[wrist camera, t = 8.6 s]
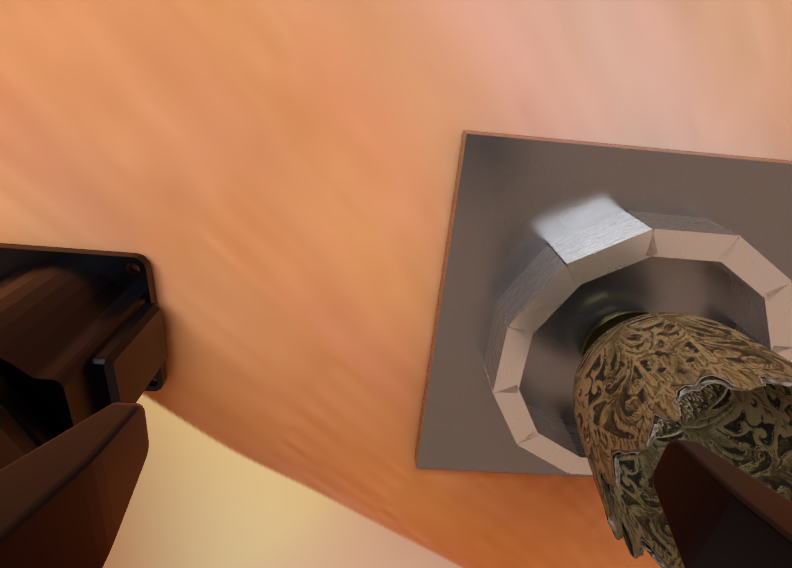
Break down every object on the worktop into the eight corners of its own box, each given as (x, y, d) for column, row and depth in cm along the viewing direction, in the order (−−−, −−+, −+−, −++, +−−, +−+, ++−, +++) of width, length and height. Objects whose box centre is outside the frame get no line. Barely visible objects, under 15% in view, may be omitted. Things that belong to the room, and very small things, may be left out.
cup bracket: (414, 456, 24) (418, 502, 22) (463, 130, 17) (476, 143, 15) (713, 470, 25) (750, 516, 23) (873, 168, 18) (951, 187, 16)
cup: (691, 230, 18) (890, 346, 11) (719, 371, 21) (889, 533, 14) (508, 304, 20) (581, 451, 12) (559, 427, 23) (641, 603, 15)
